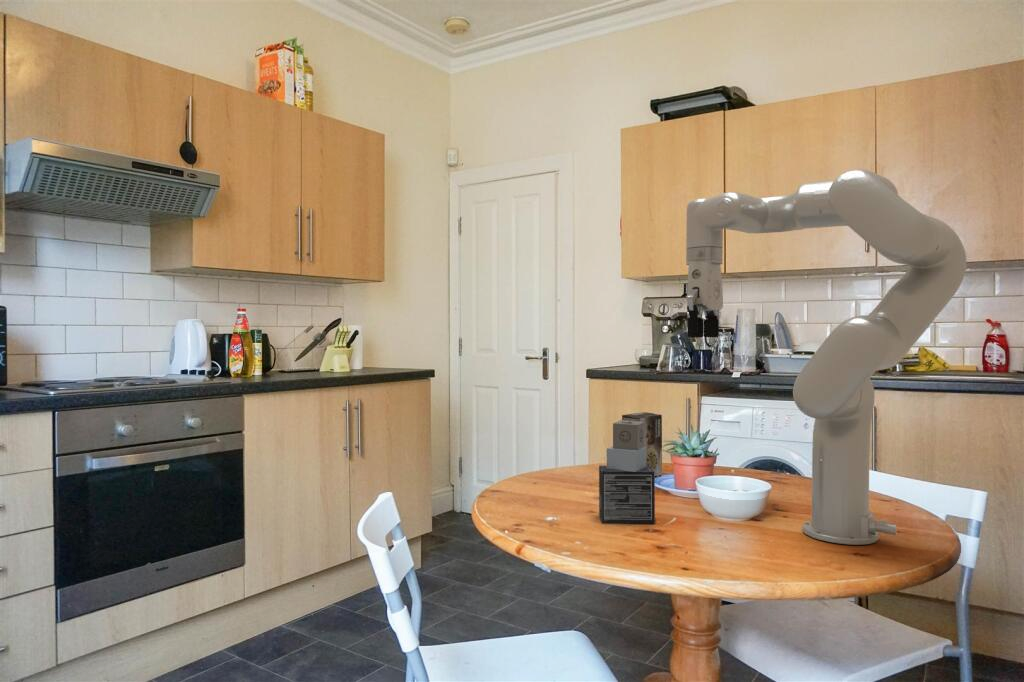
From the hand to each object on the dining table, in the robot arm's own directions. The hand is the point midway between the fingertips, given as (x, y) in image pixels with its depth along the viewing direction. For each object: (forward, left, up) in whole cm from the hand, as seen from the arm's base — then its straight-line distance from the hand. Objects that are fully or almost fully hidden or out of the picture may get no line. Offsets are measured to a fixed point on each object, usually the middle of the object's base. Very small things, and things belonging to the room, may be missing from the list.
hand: (703, 337), depth 145 cm
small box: (+9, +19, -37) cm, 42 cm away
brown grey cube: (+8, +19, -22) cm, 31 cm away
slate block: (+9, +20, -26) cm, 34 cm away
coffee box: (+23, -20, -36) cm, 48 cm away
